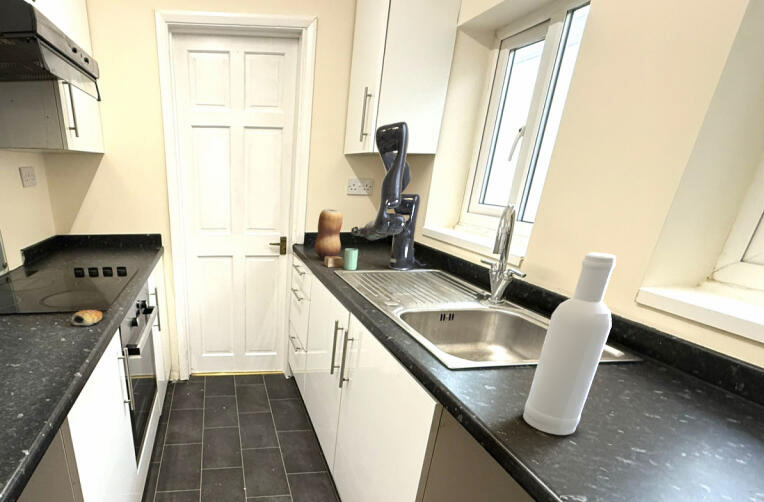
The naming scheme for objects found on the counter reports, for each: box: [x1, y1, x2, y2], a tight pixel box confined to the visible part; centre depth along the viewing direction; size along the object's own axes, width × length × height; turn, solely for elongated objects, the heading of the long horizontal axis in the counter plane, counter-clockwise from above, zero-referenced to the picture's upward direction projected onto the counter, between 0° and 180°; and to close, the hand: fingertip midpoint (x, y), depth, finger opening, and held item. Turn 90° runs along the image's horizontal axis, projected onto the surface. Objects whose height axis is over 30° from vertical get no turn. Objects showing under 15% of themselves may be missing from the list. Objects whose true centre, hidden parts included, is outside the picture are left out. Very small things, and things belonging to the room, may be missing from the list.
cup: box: [342, 247, 359, 271], centre depth 191 cm, size 6×6×9 cm
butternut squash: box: [314, 208, 343, 261], centre depth 210 cm, size 14×13×25 cm
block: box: [323, 255, 344, 268], centre depth 199 cm, size 7×6×4 cm
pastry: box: [70, 309, 103, 327], centre depth 123 cm, size 9×7×4 cm
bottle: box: [522, 252, 617, 436], centre depth 68 cm, size 8×8×30 cm
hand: (364, 234), depth 178 cm, fingers open, 8 cm apart
